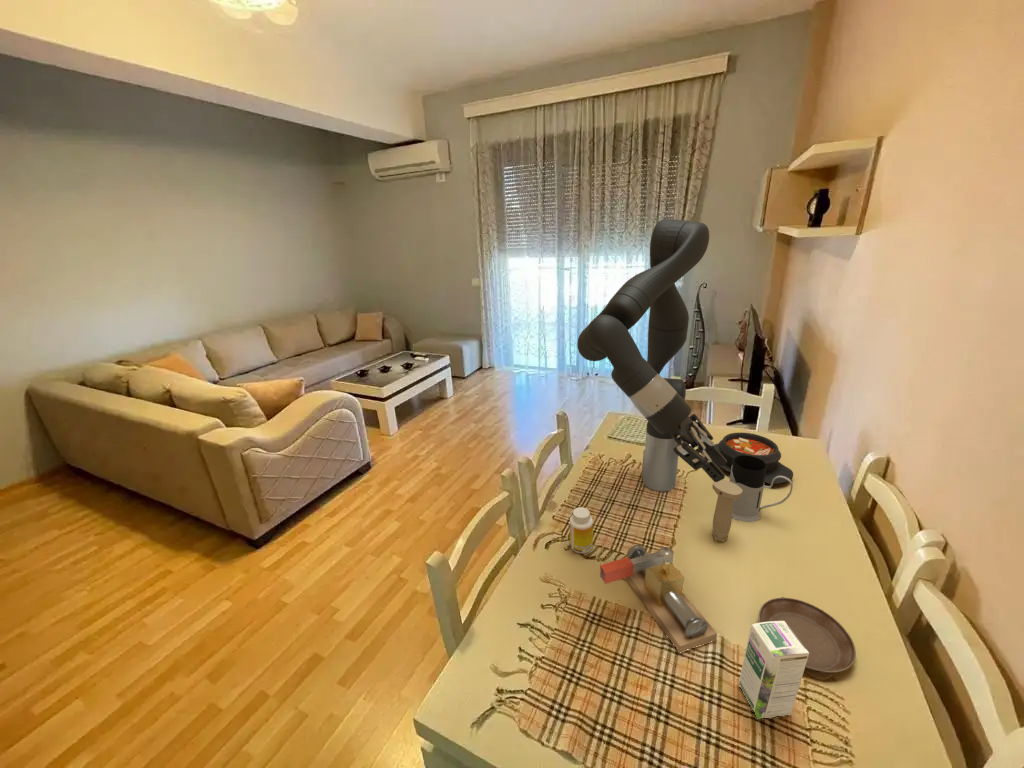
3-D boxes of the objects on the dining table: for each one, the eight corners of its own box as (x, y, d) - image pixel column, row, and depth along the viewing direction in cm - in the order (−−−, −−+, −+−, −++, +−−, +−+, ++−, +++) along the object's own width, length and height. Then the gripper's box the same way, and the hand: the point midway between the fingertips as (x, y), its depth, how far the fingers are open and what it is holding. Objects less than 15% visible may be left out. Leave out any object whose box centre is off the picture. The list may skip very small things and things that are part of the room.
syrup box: (736, 684, 72) (748, 622, 66) (769, 680, 72) (784, 618, 67) (757, 721, 66) (772, 657, 61) (793, 716, 67) (811, 652, 62)
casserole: (804, 474, 126) (810, 450, 123) (770, 497, 117) (775, 471, 114) (726, 442, 146) (729, 420, 143) (692, 459, 137) (694, 437, 134)
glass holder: (728, 497, 118) (735, 450, 113) (787, 516, 110) (798, 467, 104) (719, 513, 112) (726, 465, 107) (781, 535, 103) (792, 484, 98)
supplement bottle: (597, 549, 103) (598, 515, 99) (578, 557, 100) (578, 523, 97) (584, 535, 107) (584, 502, 104) (565, 543, 105) (565, 509, 101)
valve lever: (667, 555, 86) (668, 544, 85) (675, 564, 83) (676, 553, 82) (599, 575, 82) (599, 563, 81) (605, 585, 80) (606, 573, 79)
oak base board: (618, 567, 97) (618, 560, 96) (648, 558, 99) (649, 551, 98) (679, 654, 77) (680, 646, 76) (715, 640, 79) (717, 633, 78)
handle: (725, 549, 100) (734, 497, 95) (701, 534, 105) (708, 483, 100) (737, 541, 102) (746, 489, 97) (713, 526, 108) (721, 476, 102)
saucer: (874, 676, 72) (879, 665, 71) (792, 686, 71) (795, 675, 70) (810, 603, 86) (813, 593, 85) (740, 611, 85) (742, 601, 84)
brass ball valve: (624, 562, 96) (626, 530, 93) (644, 556, 98) (647, 525, 94) (684, 644, 77) (689, 607, 74) (708, 635, 79) (714, 599, 75)
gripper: (668, 407, 72) (738, 483, 70) (680, 379, 83) (741, 444, 82) (635, 429, 76) (700, 502, 75) (651, 399, 88) (708, 462, 86)
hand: (721, 471), depth 78 cm, fingers open, 4 cm apart
